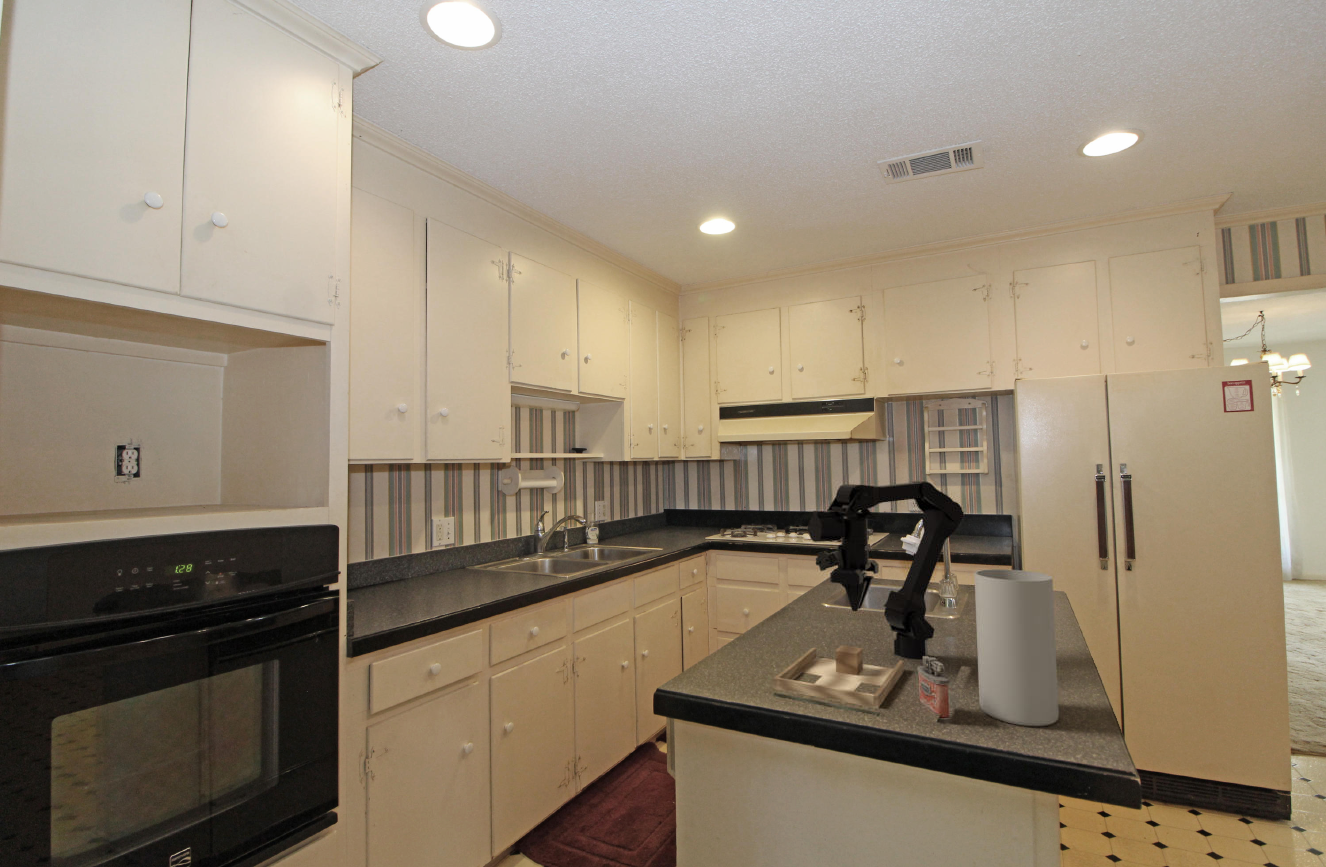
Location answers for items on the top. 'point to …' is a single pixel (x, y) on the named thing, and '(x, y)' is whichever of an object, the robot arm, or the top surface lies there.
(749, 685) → the top surface
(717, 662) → the top surface
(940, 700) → the lighter
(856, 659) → the block
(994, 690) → the cylinder vase
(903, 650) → the robot arm
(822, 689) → the box
